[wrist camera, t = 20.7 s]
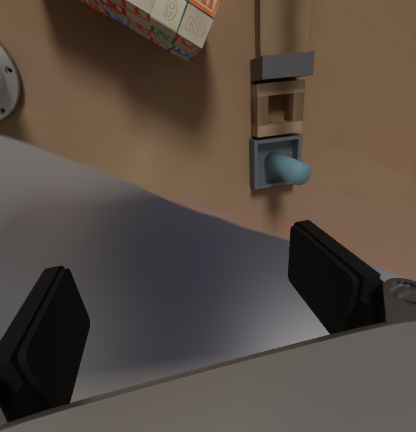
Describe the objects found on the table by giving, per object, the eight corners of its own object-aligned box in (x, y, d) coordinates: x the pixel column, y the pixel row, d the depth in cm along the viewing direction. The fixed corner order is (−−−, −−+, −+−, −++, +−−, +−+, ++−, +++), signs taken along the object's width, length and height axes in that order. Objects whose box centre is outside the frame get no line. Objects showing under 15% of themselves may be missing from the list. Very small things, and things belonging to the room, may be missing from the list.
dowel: (264, 170, 48) (290, 186, 39) (264, 152, 47) (291, 164, 38) (281, 168, 48) (310, 183, 39) (281, 150, 47) (312, 161, 38)
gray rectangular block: (250, 81, 42) (262, 79, 37) (250, 60, 40) (262, 55, 36) (295, 77, 43) (312, 74, 38) (297, 56, 42) (314, 51, 37)
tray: (250, 185, 49) (254, 189, 47) (249, 138, 46) (254, 140, 43) (292, 179, 51) (298, 182, 48) (294, 133, 47) (302, 134, 45)
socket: (251, 135, 45) (257, 137, 43) (250, 85, 42) (257, 84, 39) (293, 130, 46) (301, 131, 44) (295, 80, 43) (305, 79, 40)
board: (254, 60, 41) (260, 58, 39) (253, -3, 38) (259, -10, 35) (300, 55, 42) (309, 53, 40) (303, -6, 39) (312, -13, 36)
